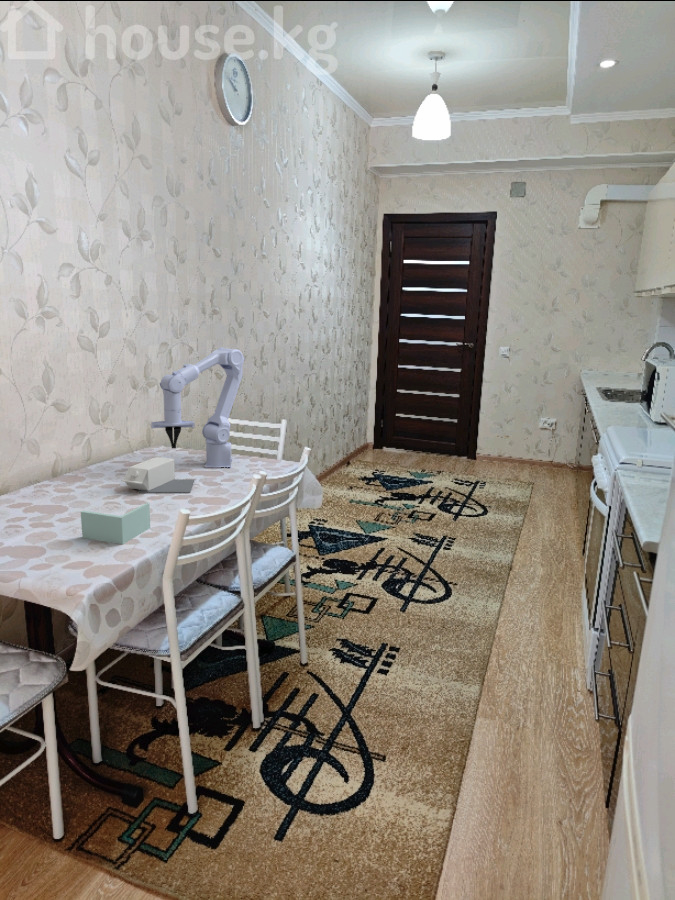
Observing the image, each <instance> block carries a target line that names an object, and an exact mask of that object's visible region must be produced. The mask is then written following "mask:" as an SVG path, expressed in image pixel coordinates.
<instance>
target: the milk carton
mask: <svg viewBox="0 0 675 900" xmlns="http://www.w3.org/2000/svg"><path fill="white" fill-rule="evenodd" d="M175 466H176V465H175V459H174V458H168V457H161V456H156V457H153V458H150V459H148V460H144V461H142V462H139V463H137V464H134V465H131V466H129V467H128V468H127V470H126V473H125V475H124V477H123V479H122V480H121V482H124V483H126V485H127V486H128V487H129V489H133V490H138V491H139V490H146V491H149V490H152V489H154V488H156V487H158V486H161V485H163V484H165V483H167V482H170V481H172V480H174V479H176V474H175V472H176V470H175Z"/></svg>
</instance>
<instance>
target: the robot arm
mask: <svg viewBox="0 0 675 900" xmlns="http://www.w3.org/2000/svg"><path fill="white" fill-rule="evenodd" d="M244 364H245V356H244V354H243V353H242V351H241V350H240V349H237V348H226V347H223V346H222V347H218V348H217V349H215V350H213V351H212V352H211V353H210V354H208V355H207V356H205V357H204V358H202V359H201V360H199V361H198V362H196V363H195V364H193V363H192V364H191V363H188V364H187V363H185V364H183V365H182V367H181V368H178V369H177V370H173V371H172V373H171V374H165V375H163V376H162V378H161V381H160V382H159V386H160V389H161V390H162V392H163V414H164V416H163V417H164V419H163V420H161V421H150V427H151V429H165V430H164V431H165V433H166V434H167V437H168V439H169V441H170V442H169V443H170V445H171V449H176V448H177V441H178V439H179V435H180V433H181V431H182V428H192V429H194V428H195V421H194V420H189V421H188V420H182V393H181V392H183V390H184V388H185V386H187V385H189V384H190V383H192V382H193V381H195V380H197V379H198V378H199V375H200V374H201V373H202V372H204V371H206V370H208V369H210V368H212V367H214V366H216V365H219V366H220V367H221V368H222V369H223V370H224V372H225V374H226V377H225V380H224V382H223V383H224V384H223V386H222V389H221V392H220V396H219V398H218V400H217V404H216V407H215V410H214V413H213V414H212V415H211V416H210V417H208V418H207V421H206V423H205V424H204V426H203V427H202V430H201V434H202V436H203V438H205V445H206V446H205V452H206V454H205V455H206V458H205V459H206V461H205V465H204V468H213V469H214V468H217V469H218V468H221V467H224V468H225V467H227V469H229V468H228V467H230V468H231V466H232V462H233V457H232V442H229V441H228V440H229V439H230V436H231V435H230V434H231V433H230V429H231V423H230V421H229V417H230V415H231V412H232V408H233V405H234V402H235V400H236V396H237V393H238V391H239V387H240V384H241V382H242V379H243V375H244V372H243V371H244V368H243V367H244ZM224 468H223V469H224ZM221 469H222V468H221Z"/></svg>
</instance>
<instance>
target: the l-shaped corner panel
mask: <svg viewBox="0 0 675 900" xmlns="http://www.w3.org/2000/svg"><path fill="white" fill-rule="evenodd" d="M80 519H81V520H80V521H81V523H80V524H81V536H82V539H88V540H95V541H101V542H106V543H114V544H120V545H124V544H126V543H128V542H130V541H131V540H133V539H135V538H136V537H138V536H140V535H141V534H143V533H145V532H146V531H148V530H150V529H151V509H150V503H149V502H145V503H144V504H142V505H140V506H138V507H136V508H134V509H132V510H130V511H128V512H127V513H124V514H122V515H116V514H110V513H104V512H103V513H102V512H96V511H91V510H90V511H89V510H82V511H80Z"/></svg>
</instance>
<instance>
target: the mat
mask: <svg viewBox="0 0 675 900" xmlns="http://www.w3.org/2000/svg"><path fill="white" fill-rule="evenodd" d="M194 480H195V479H186V478H184V479H178V478H175V479H174V480H172V481H170V482H167V483H165V484H163V485H161V486H158V487H156V488H154V489H152V490H149V491H146V490H139V489H138V492H137V493H138V494H191V491H192V489H193V486H194V484H193V483H195V481H194Z"/></svg>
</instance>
